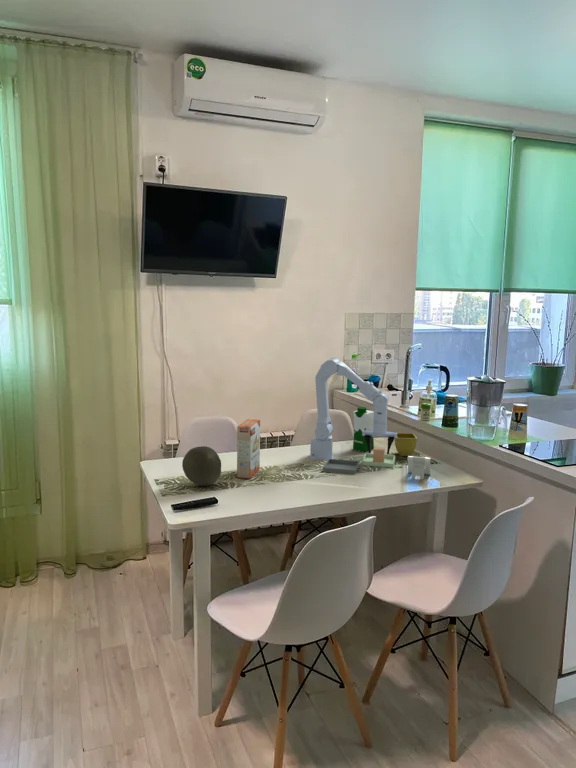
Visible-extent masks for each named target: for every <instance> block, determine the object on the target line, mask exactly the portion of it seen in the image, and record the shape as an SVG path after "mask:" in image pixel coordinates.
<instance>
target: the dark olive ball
mask: <svg viewBox="0 0 576 768" xmlns="http://www.w3.org/2000/svg"><path fill="white" fill-rule="evenodd" d="M182 471H183V473H184V475H185V476H186V478H187V479H188V480H189V481H190V482H192V483H193V484H195V485H197V486H202V487H207V486H211V485H213V484H215V483H216V482H217V481H218V480H219V479H220V478H221V477H220V476H221V474H222V461H221V459H220V456H219V454H218V453H217V452H216V451H215V450H214V449H213V448H211V447H210V446H206V445H205V446H196V447H192V448H191V449H189V450H188V451H187V452H186V454H185V455H184V456H183V459H182Z"/></svg>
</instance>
